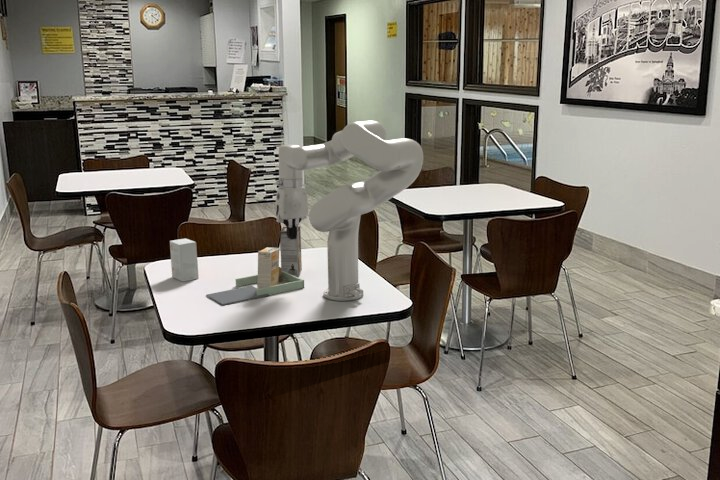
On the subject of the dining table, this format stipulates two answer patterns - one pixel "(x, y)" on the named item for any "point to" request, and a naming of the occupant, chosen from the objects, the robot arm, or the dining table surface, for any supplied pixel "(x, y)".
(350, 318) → the dining table surface
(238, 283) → the tray
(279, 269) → the walnut block
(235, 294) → the mat
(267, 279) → the supplement box
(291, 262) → the coffee box
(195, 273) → the small box
